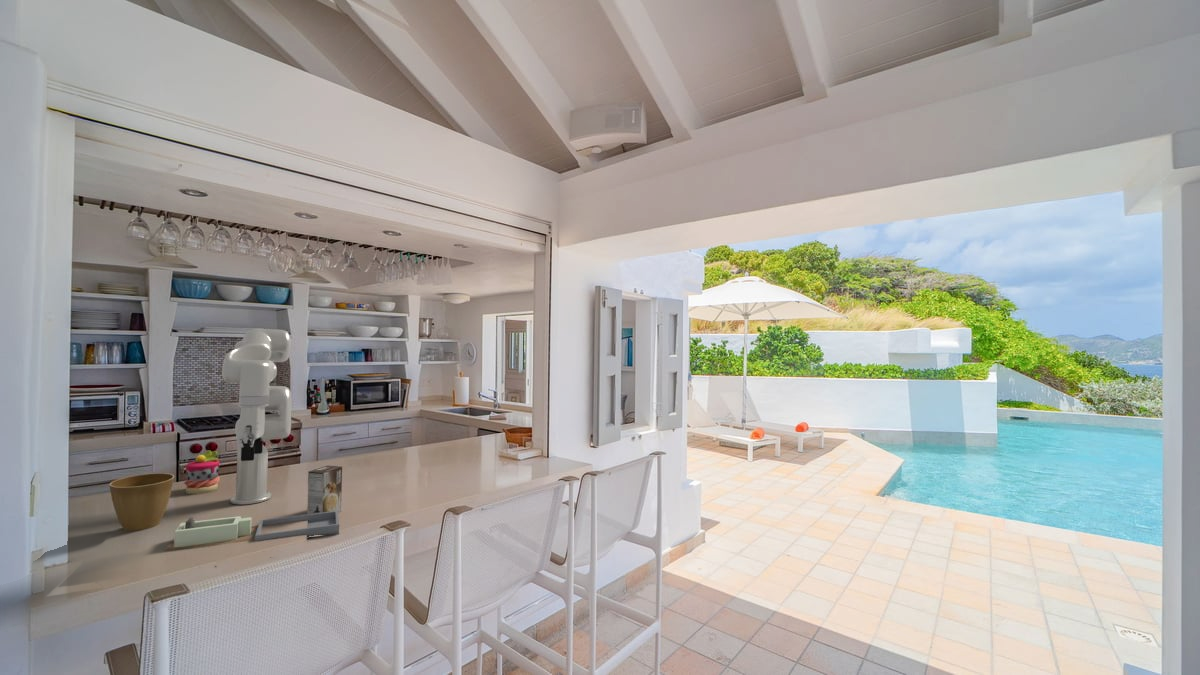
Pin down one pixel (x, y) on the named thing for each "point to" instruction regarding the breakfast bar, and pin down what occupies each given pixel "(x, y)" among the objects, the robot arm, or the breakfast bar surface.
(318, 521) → the tray
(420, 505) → the breakfast bar surface
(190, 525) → the board
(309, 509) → the coffee box
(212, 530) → the collar
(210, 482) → the cake
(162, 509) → the plant pot
